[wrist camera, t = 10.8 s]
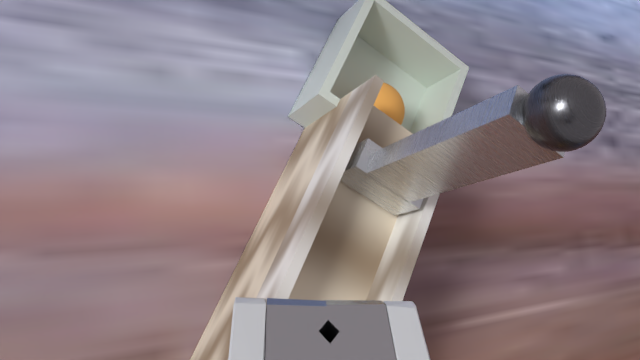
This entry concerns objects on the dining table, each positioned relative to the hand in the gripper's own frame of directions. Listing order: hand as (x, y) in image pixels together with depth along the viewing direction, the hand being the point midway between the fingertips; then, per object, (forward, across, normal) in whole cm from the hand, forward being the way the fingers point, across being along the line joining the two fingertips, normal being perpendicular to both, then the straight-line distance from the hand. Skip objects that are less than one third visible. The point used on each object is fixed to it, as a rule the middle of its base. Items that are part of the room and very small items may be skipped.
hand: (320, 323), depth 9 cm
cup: (+30, -6, +11) cm, 32 cm away
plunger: (+19, -5, +11) cm, 22 cm away
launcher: (+20, -1, +17) cm, 26 cm away
